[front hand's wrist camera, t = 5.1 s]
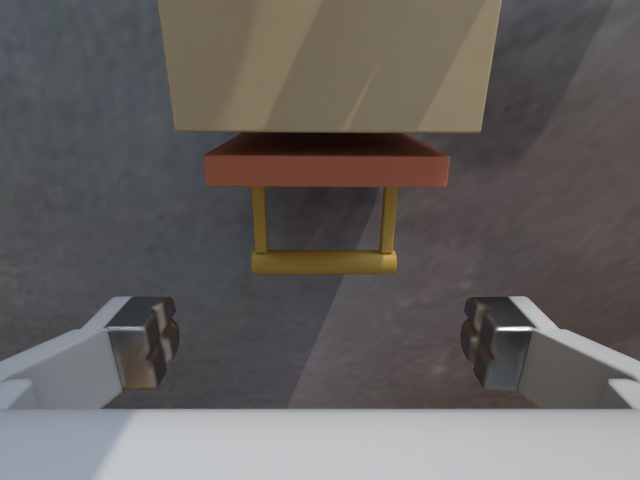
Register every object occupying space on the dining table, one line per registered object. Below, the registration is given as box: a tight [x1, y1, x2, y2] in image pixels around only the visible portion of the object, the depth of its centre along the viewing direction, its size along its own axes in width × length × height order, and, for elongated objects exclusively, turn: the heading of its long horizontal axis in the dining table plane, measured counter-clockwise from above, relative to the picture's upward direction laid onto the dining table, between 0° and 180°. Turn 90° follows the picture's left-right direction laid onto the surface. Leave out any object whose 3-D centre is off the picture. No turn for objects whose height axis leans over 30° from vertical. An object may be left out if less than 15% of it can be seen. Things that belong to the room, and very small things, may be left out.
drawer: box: [203, 132, 450, 274], centre depth 16 cm, size 24×9×8 cm, turn 0°
